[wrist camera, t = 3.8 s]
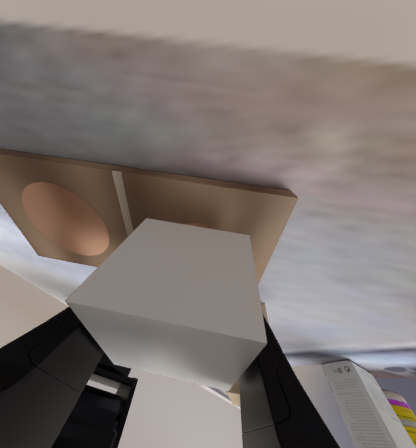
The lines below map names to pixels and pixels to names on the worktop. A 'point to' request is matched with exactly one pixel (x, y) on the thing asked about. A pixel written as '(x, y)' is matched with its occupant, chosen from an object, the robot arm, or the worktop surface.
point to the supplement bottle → (402, 413)
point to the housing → (176, 304)
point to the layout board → (128, 206)
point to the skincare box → (365, 408)
